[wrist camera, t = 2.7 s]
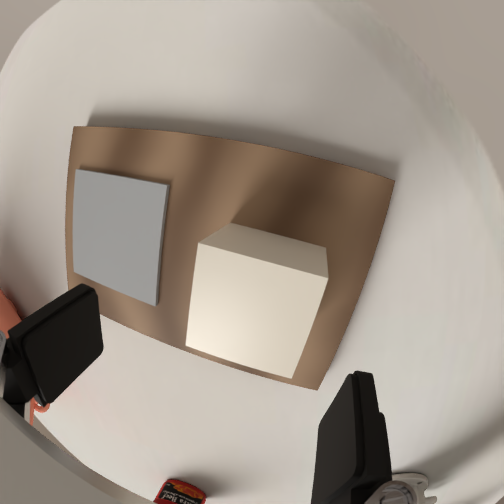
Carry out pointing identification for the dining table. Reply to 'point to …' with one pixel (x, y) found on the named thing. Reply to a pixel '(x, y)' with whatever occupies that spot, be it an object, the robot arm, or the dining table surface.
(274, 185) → the base board
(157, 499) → the canned food
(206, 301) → the cream cube
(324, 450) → the robot arm
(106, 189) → the pad
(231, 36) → the dining table surface
